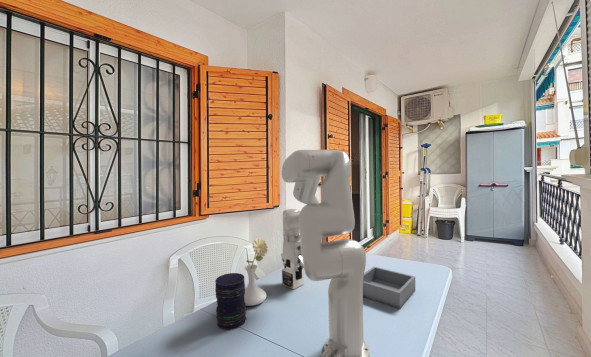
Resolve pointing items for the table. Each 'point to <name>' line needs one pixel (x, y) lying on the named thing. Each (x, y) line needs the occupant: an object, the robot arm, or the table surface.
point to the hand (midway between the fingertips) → (293, 276)
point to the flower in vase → (253, 292)
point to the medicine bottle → (291, 276)
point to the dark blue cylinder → (230, 301)
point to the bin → (388, 286)
